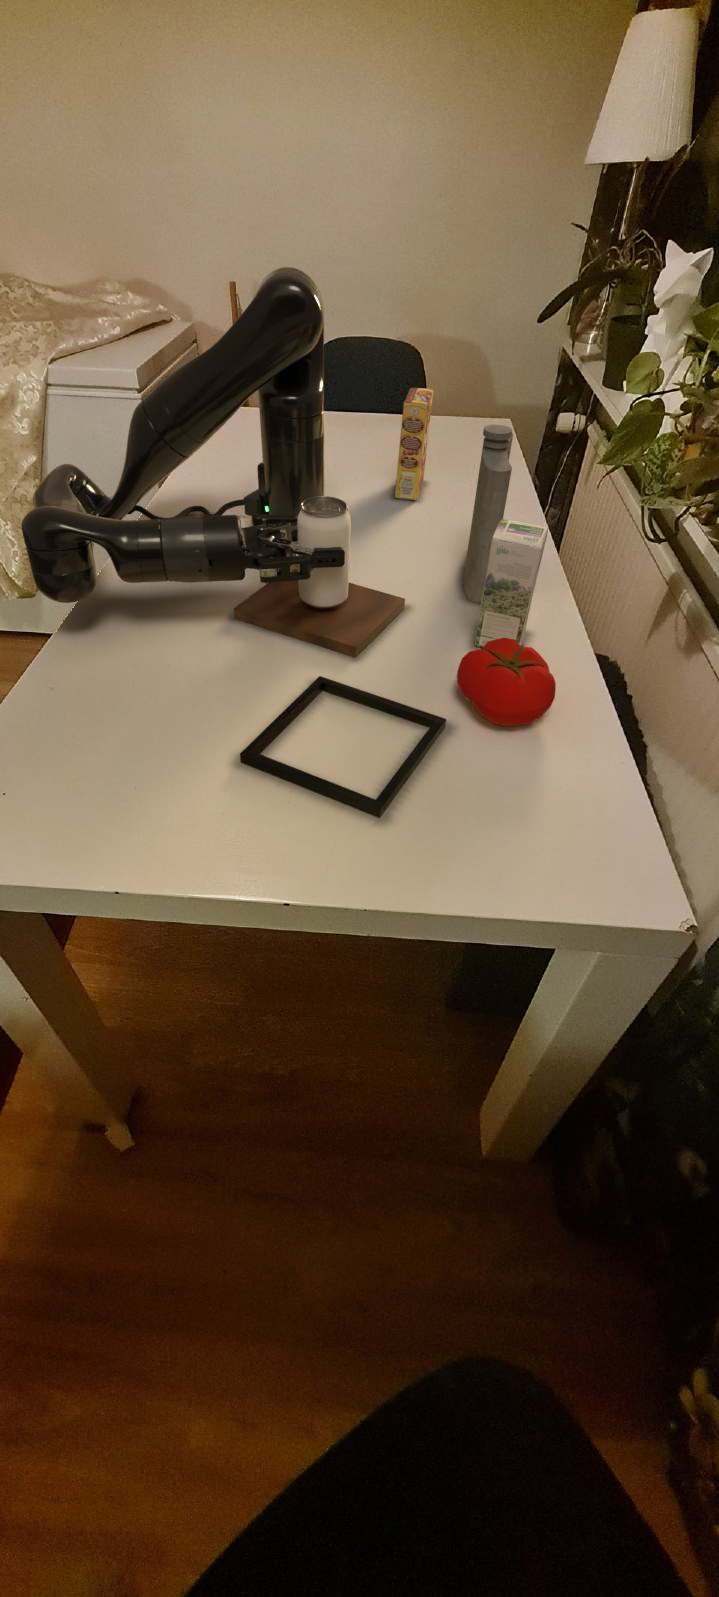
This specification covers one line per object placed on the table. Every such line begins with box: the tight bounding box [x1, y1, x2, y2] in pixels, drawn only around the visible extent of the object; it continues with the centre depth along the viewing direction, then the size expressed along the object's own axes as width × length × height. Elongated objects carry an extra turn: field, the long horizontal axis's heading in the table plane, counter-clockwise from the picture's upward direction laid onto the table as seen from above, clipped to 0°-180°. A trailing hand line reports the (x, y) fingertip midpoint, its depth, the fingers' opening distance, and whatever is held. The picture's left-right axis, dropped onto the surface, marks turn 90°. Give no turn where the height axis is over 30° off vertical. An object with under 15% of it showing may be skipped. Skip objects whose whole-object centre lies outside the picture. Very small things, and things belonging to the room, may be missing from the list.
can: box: [297, 495, 352, 608], centre depth 88 cm, size 6×6×12 cm
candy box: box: [394, 387, 434, 501], centre depth 120 cm, size 9×4×15 cm, turn 169°
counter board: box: [233, 570, 406, 658], centre depth 94 cm, size 18×14×2 cm
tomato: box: [456, 638, 557, 727], centre depth 78 cm, size 10×11×6 cm
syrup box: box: [474, 518, 549, 648], centre depth 86 cm, size 6×6×14 cm
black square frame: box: [239, 675, 447, 819], centre depth 74 cm, size 16×16×1 cm
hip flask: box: [463, 424, 514, 604], centre depth 96 cm, size 16×4×20 cm, turn 170°
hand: (339, 543), depth 88 cm, fingers closed on can, 6 cm apart
